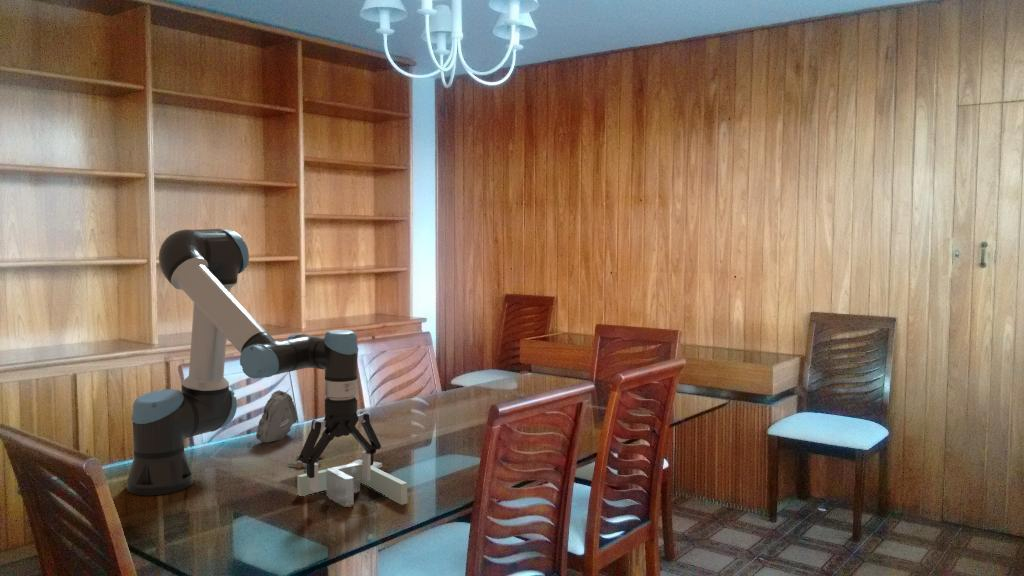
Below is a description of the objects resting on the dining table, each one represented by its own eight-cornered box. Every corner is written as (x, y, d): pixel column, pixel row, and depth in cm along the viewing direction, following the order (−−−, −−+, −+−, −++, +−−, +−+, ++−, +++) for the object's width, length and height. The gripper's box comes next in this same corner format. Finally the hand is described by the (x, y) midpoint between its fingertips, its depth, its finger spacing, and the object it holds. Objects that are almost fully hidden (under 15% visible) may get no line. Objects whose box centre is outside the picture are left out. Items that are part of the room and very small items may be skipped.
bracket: (326, 497, 195) (326, 468, 194) (356, 490, 200) (355, 462, 199) (346, 508, 187) (345, 479, 186) (376, 501, 192) (376, 472, 191)
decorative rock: (285, 432, 253) (284, 385, 251) (302, 434, 250) (302, 387, 249) (250, 445, 238) (249, 395, 236) (268, 448, 235) (267, 397, 234)
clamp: (306, 448, 229) (336, 452, 226) (306, 456, 229) (337, 459, 226) (274, 464, 215) (306, 468, 211) (274, 472, 215) (306, 476, 212)
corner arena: (338, 521, 179) (337, 499, 179) (297, 495, 195) (297, 475, 195) (407, 503, 190) (407, 482, 190) (363, 480, 207) (363, 461, 206)
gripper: (297, 407, 177) (298, 500, 179) (395, 392, 193) (394, 478, 195) (283, 400, 183) (284, 490, 185) (379, 387, 199) (379, 470, 201)
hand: (340, 484), depth 190 cm, fingers open, 13 cm apart
